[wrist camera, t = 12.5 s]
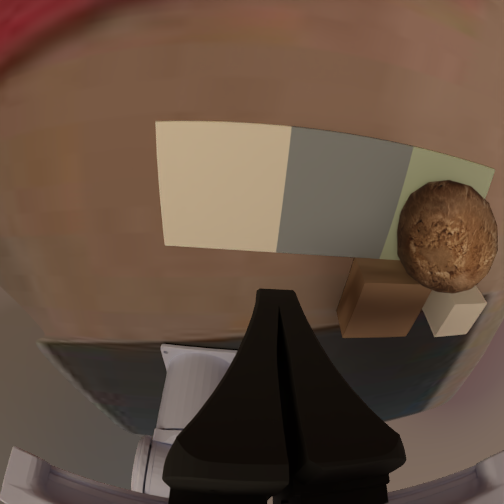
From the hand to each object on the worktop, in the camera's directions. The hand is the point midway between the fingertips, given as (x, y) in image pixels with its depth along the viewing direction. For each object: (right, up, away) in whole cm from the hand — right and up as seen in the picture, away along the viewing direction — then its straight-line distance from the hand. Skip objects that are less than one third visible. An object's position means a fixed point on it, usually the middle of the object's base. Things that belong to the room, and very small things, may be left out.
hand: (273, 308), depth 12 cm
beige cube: (+15, -2, +11) cm, 19 cm away
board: (+5, +6, +8) cm, 11 cm away
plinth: (+10, -1, +13) cm, 16 cm away
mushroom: (+12, +5, +9) cm, 16 cm away
